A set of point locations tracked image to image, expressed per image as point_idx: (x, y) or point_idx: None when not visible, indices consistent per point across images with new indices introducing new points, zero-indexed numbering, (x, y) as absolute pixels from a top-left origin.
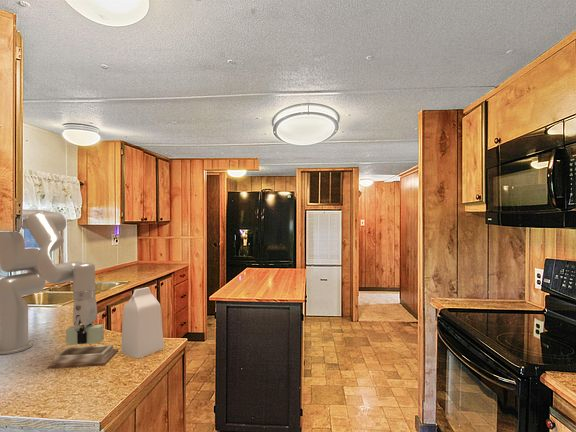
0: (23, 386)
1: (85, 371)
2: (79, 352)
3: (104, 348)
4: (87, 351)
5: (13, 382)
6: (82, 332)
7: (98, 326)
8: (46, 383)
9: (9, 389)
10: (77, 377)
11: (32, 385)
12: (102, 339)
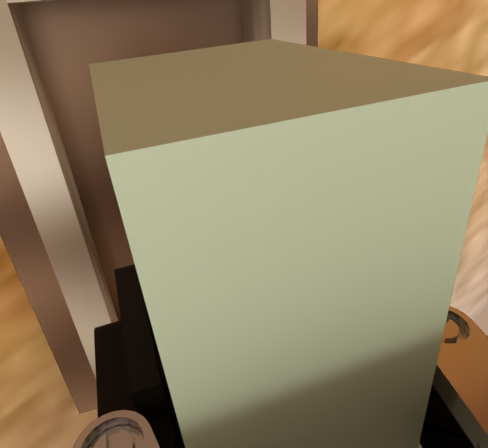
0: (475, 267)
1: (391, 34)
2: (112, 305)
3: (33, 69)
4: (92, 248)
5: None
6: (461, 336)
7: (350, 197)
8: (482, 184)
9: (481, 298)
10: (469, 36)
11: (479, 236)
12: (148, 58)
